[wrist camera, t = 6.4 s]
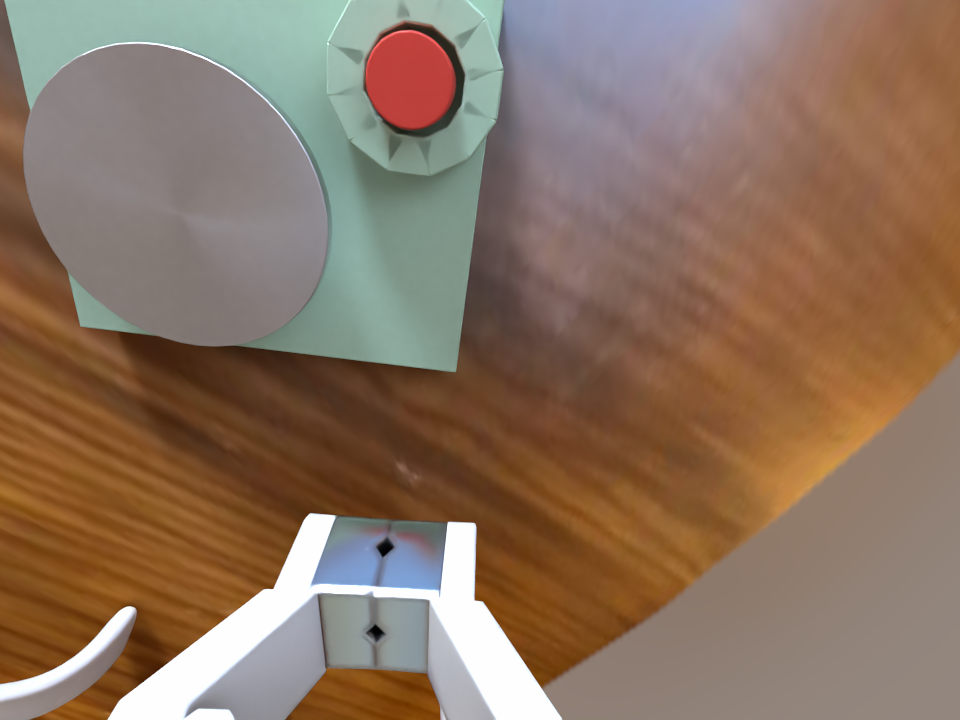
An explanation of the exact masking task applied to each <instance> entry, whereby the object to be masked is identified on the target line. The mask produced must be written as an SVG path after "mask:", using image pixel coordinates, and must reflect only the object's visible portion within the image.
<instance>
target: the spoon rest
mask: <svg viewBox="0 0 960 720" xmlns="http://www.w3.org/2000/svg"><path fill="white" fill-rule="evenodd" d="M136 616H137V610H136V608H134V607H130V606H128V607H125V608H123V609H122V610H120V611H119V612H118V613H117V614H116V615H115V616H114V617H113V618H112V619H111V620H110V621H109V622H108V623H107V624H106V626H105V627H104V628H103V629H102V630H101V632H100V633H99V634H98V635H97V636H96V637H95V638H94V639H93V640H92V641H91V642H90V643H89V644H88V645H87V646H86V647H85V648H84V649H83V650H82V651H81V652H79V653H78V654H77V655H76V656H74V657H73V658H71V659H70V660H68V661H67V662H65V663H64V664H62V665H60V666H59V667H57V668H55V669H53V670H51V671H49V672H47V673H44V674H42V675H39V676H36V677H33V678H29V679H26V680H22V681H17V682H11V683H5V684H0V720H30V719H33V718H35V717H38V716H41V715H43V714H45V713H48V712H50V711H52V710H54V709H56V708H58V707H60V706H62V705H63V704H65V703H67V702H69V701H70V700H72V699H74V698H75V697H77V696H78V695H80V694H81V693H82V692H84V691H85V690H86V689H88V688H89V687H90V686H92V685H93V684H94V683H95V682H96V681H98V680H99V679H100V678H101V677H102V676H103V675H104V674H105V673H106V672H107V671H108V669H109V668H110V667H111V666H112V665H113V663H114V662H115V661H116V660H117V658H118V657H119V656H120V654H121V653H122V651H123V650H124V648H125V645H126V643H127V641H128V638H129V636H130V633H131V631H132V628H133V625H134V622H135V620H136Z"/></svg>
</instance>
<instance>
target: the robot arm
mask: <svg viewBox="0 0 960 720" xmlns="http://www.w3.org/2000/svg"><path fill="white" fill-rule="evenodd" d="M475 557H476V525H475V523H462V522H448V525H447V522H438V521H418V520H398V519H393V520H391V519H379V518H367V517H355V516H343V515H338V516H335V515H324V514H313V513H310V514H309V515H308V516H307V517H306V518H305V519H304V521H303V524H302V526H301V528H300V530H299V533H298V535H297V537H296V539H295V542H294V544H293V546H292V548H291V551H290V553H289V555H288V557H287V560H286V562H285V564H284V566H283V569H282V571H281V573H280V575H279V578H278V580H277V582H276V584H275V587H274V589H264V590H263V591H261V592H260V593H259V594H257V595H256V596H255V597H254V598H252V599H251V600H250V601H248V602H247V603H246V604H244V605H243V606H242V607H241V608H239V609H238V610H237V611H235V612H234V613H233V614H231V615H230V616H229V617H228V618H226V619H225V620H224V621H222V622H221V623H220V624H218V625H217V626H216V627H215V628H213V629H212V630H211V631H209V632H208V633H207V634H205V635H204V636H203V637H201V638H200V639H199V640H198V641H196V642H195V643H194V644H192V645H191V646H190V647H188V648H187V649H186V650H185V651H183V652H182V653H181V654H179V655H178V656H177V657H175V658H174V659H173V660H172V661H170V662H169V663H168V664H166V665H165V666H164V667H162V668H161V669H160V670H159V671H157V672H156V673H155V674H153V675H152V676H151V677H149V678H148V679H147V680H146V681H144V682H143V683H142V684H140V685H139V686H138V687H136V688H135V689H134V690H133V691H131V692H130V693H129V694H127V695H126V696H125V697H123V698H122V699H121V700H120V701H119V702H118V704H117V705H116V707H115V709H114V710H113V712H112V713H111V715H110V717H109V718H108V720H285V719H286V718H287V717H288V716H289V714H290V713H291V712H292V711H293V710H294V709H295V707H296V706H297V705H298V704H299V703H300V702H301V700H302V699H303V698H304V697H305V696H306V694H307V693H308V692H309V691H310V690H311V689H312V687H313V686H314V685H315V684H316V683H317V681H318V680H319V679H320V678H321V677H322V676H323V674H324V673H325V672H326V668H349V669H380V670H392V671H404V672H416V673H428V678H429V680H430V683H431V685H432V687H433V690H434V692H435V694H436V697H437V699H438V701H439V704H440V706H441V708H442V711H443V713H444V715H445V718H446V720H562V718H561V717H560V715H559V714H558V713H557V711H556V710H555V708H554V707H553V705H552V704H551V702H550V701H549V699H548V698H547V696H546V695H545V693H544V692H543V690H542V689H541V687H540V686H539V684H538V683H537V681H536V680H535V678H534V677H533V675H532V674H531V672H530V671H529V669H528V668H527V666H526V665H525V663H524V662H523V660H522V659H521V658H520V656H519V655H518V653H517V652H516V650H515V649H514V647H513V646H512V644H511V643H510V641H509V640H508V638H507V637H506V635H505V634H504V632H503V631H502V629H501V628H500V626H499V625H498V623H497V622H496V620H495V619H494V617H493V616H492V614H491V613H490V611H489V610H488V608H487V607H486V606H485V604H484V603H483V602H481V601H474V591H475Z"/></svg>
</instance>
